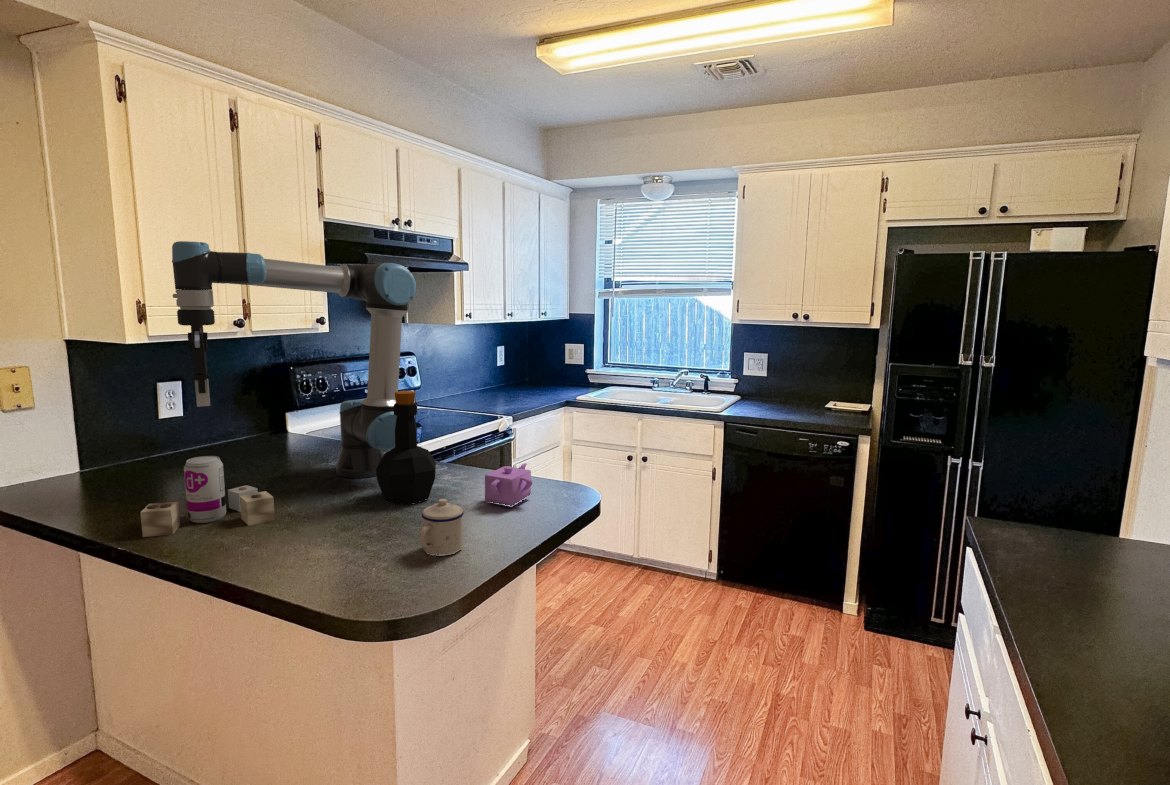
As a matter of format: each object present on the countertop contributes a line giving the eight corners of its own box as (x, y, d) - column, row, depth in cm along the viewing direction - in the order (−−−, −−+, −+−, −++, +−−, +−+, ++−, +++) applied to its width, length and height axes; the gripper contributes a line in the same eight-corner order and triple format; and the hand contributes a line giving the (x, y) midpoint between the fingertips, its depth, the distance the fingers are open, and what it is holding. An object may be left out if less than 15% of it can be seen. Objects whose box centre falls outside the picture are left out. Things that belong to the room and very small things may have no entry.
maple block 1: (180, 525, 151) (178, 500, 150) (173, 534, 145) (170, 509, 144) (151, 527, 149) (149, 502, 148) (142, 537, 143) (140, 511, 142)
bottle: (445, 502, 171) (444, 394, 167) (384, 511, 163) (381, 398, 158) (427, 485, 185) (426, 385, 180) (370, 493, 177) (367, 389, 172)
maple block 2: (266, 513, 160) (265, 490, 159) (274, 520, 155) (273, 496, 154) (241, 519, 156) (239, 495, 155) (248, 525, 151) (246, 501, 150)
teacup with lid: (440, 538, 147) (439, 490, 145) (471, 546, 143) (471, 497, 141) (404, 557, 136) (403, 506, 134) (437, 566, 132) (436, 513, 130)
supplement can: (209, 525, 151) (204, 465, 148) (179, 522, 152) (174, 462, 150) (234, 514, 159) (230, 456, 156) (206, 510, 160) (201, 454, 158)
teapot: (507, 489, 184) (507, 456, 182) (548, 496, 178) (549, 462, 176) (471, 507, 168) (471, 471, 166) (515, 516, 162) (516, 479, 160)
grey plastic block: (247, 503, 167) (246, 484, 166) (258, 506, 164) (257, 487, 164) (229, 508, 163) (227, 489, 162) (240, 512, 160) (238, 492, 159)
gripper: (178, 307, 152) (187, 402, 156) (174, 309, 141) (183, 411, 145) (214, 307, 156) (221, 400, 160) (213, 309, 144) (221, 409, 148)
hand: (203, 405), depth 152 cm, fingers closed
